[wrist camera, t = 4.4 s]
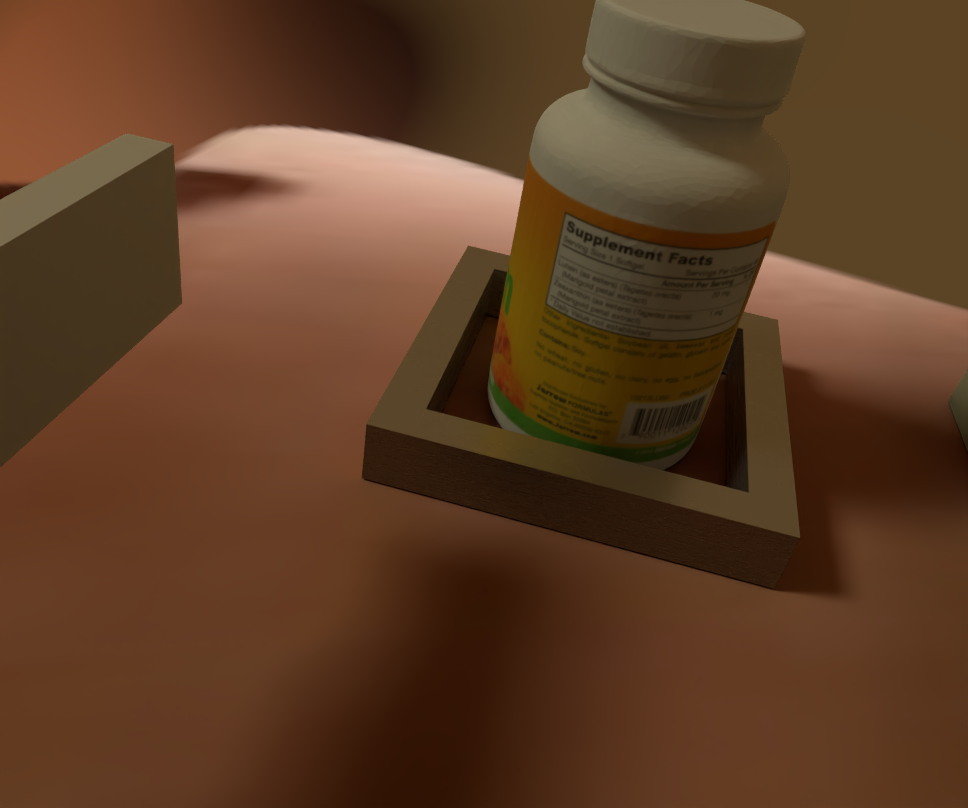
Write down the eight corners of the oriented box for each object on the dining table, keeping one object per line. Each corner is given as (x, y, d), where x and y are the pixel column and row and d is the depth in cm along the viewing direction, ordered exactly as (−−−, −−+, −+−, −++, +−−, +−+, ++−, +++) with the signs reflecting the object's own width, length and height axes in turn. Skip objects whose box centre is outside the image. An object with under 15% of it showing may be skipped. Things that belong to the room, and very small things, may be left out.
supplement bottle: (525, 332, 25) (602, -41, 19) (709, 395, 24) (851, 17, 18) (450, 435, 21) (521, -5, 15) (670, 516, 20) (839, 73, 14)
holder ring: (759, 364, 25) (777, 320, 24) (774, 589, 18) (800, 538, 17) (461, 290, 26) (468, 245, 25) (361, 477, 19) (366, 423, 18)
